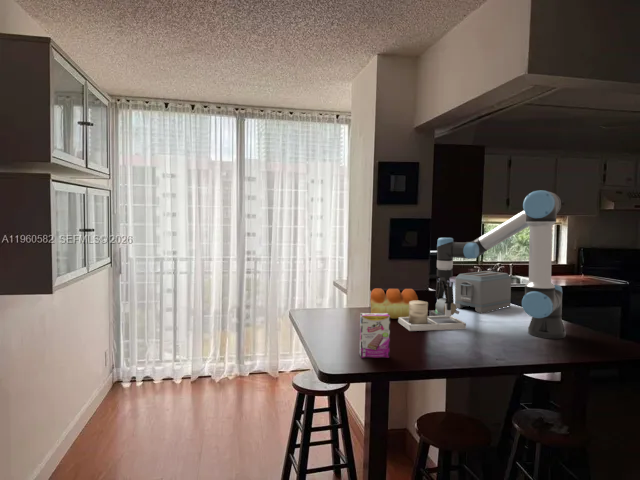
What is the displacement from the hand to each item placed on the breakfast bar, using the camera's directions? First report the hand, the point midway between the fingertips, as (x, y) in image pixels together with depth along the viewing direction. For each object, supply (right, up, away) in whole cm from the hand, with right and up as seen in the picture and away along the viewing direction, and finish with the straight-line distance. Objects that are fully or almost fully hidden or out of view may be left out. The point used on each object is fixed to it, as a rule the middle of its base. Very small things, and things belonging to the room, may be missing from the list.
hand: (443, 314), depth 215 cm
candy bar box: (-41, -8, -49) cm, 64 cm away
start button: (+2, -4, +15) cm, 15 cm away
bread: (-21, -5, +21) cm, 31 cm away
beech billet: (-13, -4, -2) cm, 14 cm away
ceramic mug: (+2, 0, +1) cm, 3 cm away
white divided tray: (-7, -5, -1) cm, 9 cm away
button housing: (+2, -5, +15) cm, 15 cm away
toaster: (+34, -4, +42) cm, 54 cm away
